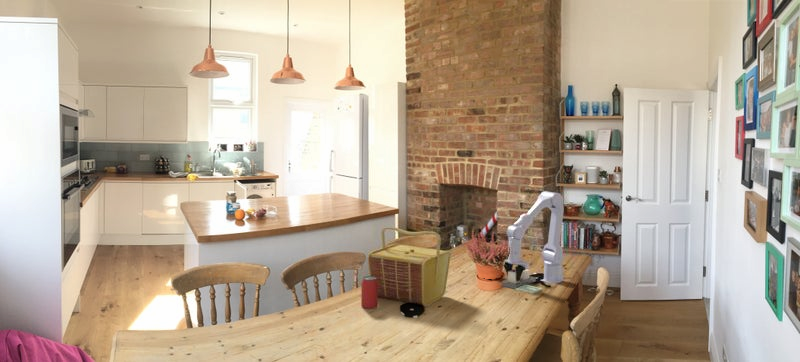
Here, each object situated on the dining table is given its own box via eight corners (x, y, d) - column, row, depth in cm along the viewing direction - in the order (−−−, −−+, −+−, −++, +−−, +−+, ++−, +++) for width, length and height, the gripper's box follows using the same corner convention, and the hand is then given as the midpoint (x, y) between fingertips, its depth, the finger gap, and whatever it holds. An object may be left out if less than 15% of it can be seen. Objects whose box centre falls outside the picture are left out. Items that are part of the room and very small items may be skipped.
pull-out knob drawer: (521, 281, 255) (522, 266, 254) (529, 282, 252) (529, 268, 251) (517, 282, 252) (518, 268, 251) (524, 284, 249) (525, 269, 248)
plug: (512, 283, 248) (512, 268, 247) (519, 284, 245) (520, 269, 245) (507, 284, 245) (508, 269, 244) (514, 286, 242) (515, 271, 242)
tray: (525, 287, 245) (525, 284, 245) (541, 290, 239) (541, 288, 239) (515, 290, 239) (515, 288, 238) (532, 294, 233) (532, 292, 233)
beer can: (375, 309, 210) (375, 280, 209) (359, 308, 212) (359, 279, 210) (379, 304, 217) (379, 276, 216) (363, 303, 218) (363, 275, 217)
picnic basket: (452, 295, 231) (453, 228, 228) (425, 311, 209) (426, 237, 206) (395, 284, 246) (396, 221, 243) (364, 299, 224) (365, 230, 221)
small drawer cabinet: (520, 279, 258) (521, 272, 257) (535, 282, 252) (535, 276, 252) (501, 286, 245) (501, 280, 244) (515, 290, 239) (516, 283, 239)
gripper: (496, 250, 246) (495, 278, 247) (524, 255, 236) (523, 284, 237) (504, 247, 251) (503, 275, 252) (531, 252, 241) (530, 281, 242)
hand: (513, 279), depth 245 cm, fingers closed on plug, 4 cm apart
